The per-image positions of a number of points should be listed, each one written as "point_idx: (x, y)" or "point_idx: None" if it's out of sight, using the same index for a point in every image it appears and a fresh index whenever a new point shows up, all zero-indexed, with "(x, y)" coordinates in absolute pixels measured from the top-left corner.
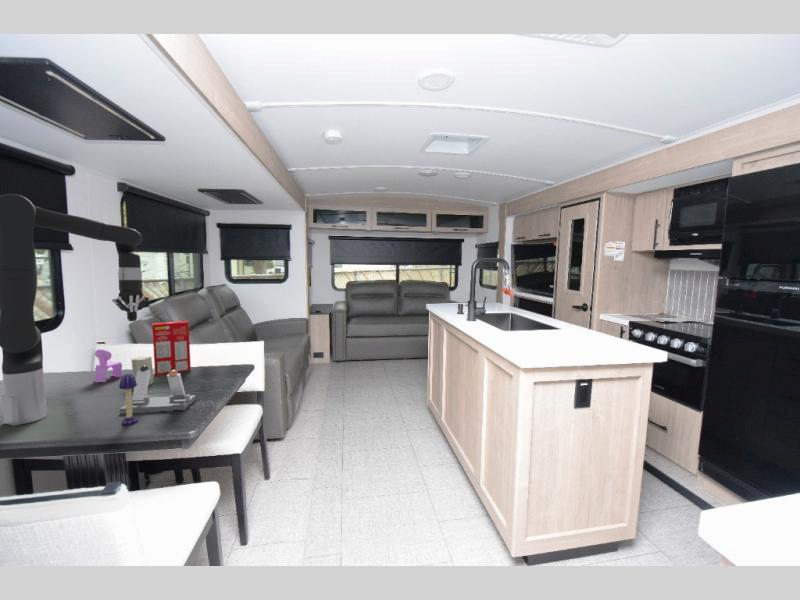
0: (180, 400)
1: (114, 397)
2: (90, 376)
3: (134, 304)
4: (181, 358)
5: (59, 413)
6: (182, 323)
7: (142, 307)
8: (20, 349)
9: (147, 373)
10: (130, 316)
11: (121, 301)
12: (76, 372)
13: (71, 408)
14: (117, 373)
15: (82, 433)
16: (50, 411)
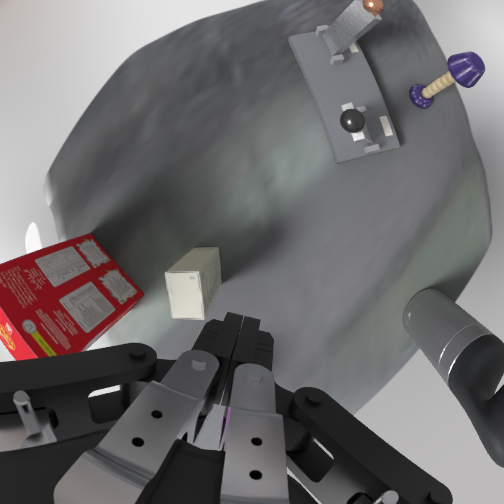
0: (327, 46)
1: (308, 256)
2: None
3: (189, 424)
4: (79, 257)
5: (402, 285)
6: None
7: (110, 349)
8: None
9: (354, 106)
10: (263, 349)
11: (393, 494)
12: None
13: (378, 289)
14: None
15: (463, 150)
16: (392, 314)
